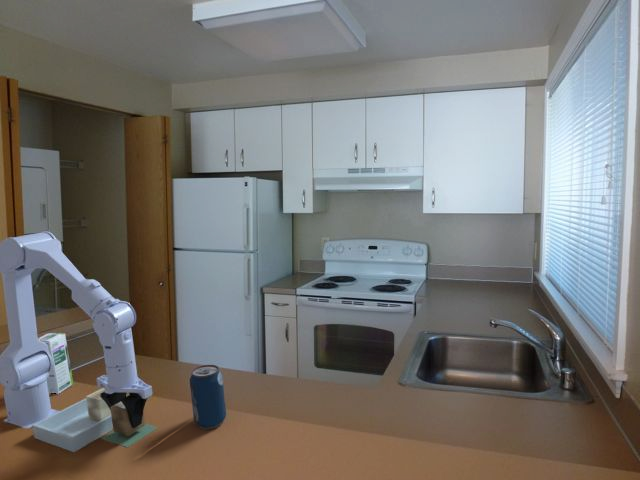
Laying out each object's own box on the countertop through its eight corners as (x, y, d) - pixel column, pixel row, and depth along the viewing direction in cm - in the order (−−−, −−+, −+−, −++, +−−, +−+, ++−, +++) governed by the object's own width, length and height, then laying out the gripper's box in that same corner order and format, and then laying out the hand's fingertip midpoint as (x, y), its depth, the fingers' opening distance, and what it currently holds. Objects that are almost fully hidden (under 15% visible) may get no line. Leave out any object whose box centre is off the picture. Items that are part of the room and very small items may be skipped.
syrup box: (58, 394, 125) (50, 340, 123) (38, 393, 126) (30, 340, 124) (74, 384, 130) (66, 332, 128) (54, 383, 132) (46, 332, 129)
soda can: (232, 415, 109) (227, 364, 107) (216, 432, 102) (210, 378, 100) (205, 412, 111) (200, 362, 109) (188, 428, 105) (181, 375, 103)
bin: (34, 440, 104) (32, 425, 103) (104, 403, 119) (102, 389, 118) (74, 454, 97) (71, 438, 97) (142, 413, 112) (140, 399, 112)
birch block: (89, 419, 110) (85, 396, 109) (106, 410, 114) (102, 387, 113) (102, 423, 108) (98, 399, 107) (118, 413, 112) (115, 391, 111)
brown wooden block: (113, 431, 102) (110, 406, 101) (130, 421, 106) (127, 396, 105) (127, 436, 100) (124, 410, 99) (144, 425, 104) (141, 400, 103)
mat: (101, 441, 102) (101, 438, 102) (132, 422, 109) (132, 419, 109) (127, 449, 98) (127, 447, 98) (158, 429, 105) (158, 427, 105)
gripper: (80, 364, 101) (89, 425, 103) (128, 375, 94) (137, 440, 96) (109, 351, 107) (117, 409, 109) (157, 361, 100) (164, 422, 102)
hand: (128, 423), depth 103 cm, fingers closed on brown wooden block, 4 cm apart
